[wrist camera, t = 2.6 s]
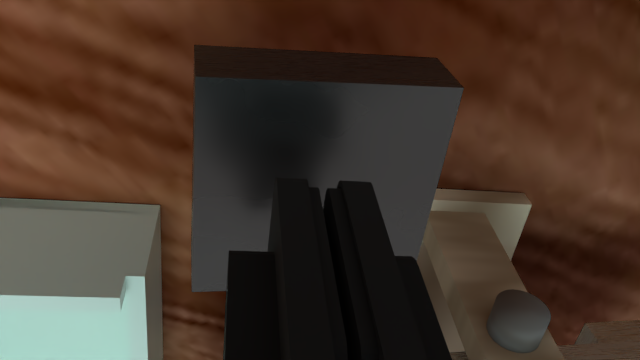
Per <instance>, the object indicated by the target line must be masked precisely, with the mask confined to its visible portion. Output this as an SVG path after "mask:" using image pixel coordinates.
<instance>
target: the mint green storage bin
mask: <svg viewBox="0 0 640 360" xmlns="http://www.w3.org/2000/svg"><path fill="white" fill-rule="evenodd" d="M0 360H163V326H162V274H161V222H160V205H147V204H125V203H103V202H81V201H60V200H38V199H16V198H0Z"/></svg>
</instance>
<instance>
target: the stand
mask: <svg viewBox="0 0 640 360" xmlns="http://www.w3.org/2000/svg"><path fill="white" fill-rule="evenodd" d="M531 206H532V204H531V203H530V201H529V200H528V198H527V197H526V195H525V194H524V193H510V192H491V191H472V190H454V189H436V192H435V196H434V200H433V203H432V207H431V211H430V214H429V218H428V222H427V225H426V229H425V233H424V237H423V240H422V244H421V248H420V251H419V255H418V259H417V264H418V266H419V268H420V271H421V274H422V277H423V280H424V282H425V285H426V288H427V291H428V294H429V296H430V299H431V302H432V305H433V308H434V310H435V313H436V316H437V319H438V322H439V324H440V327H441V330H442V333H443V336H444V338H445V341H446V344H447V347H448V350H449V352H462V351H465V352H466V355H467V357H468V360H565V359H564V358H563V356H562V354H561V352H560V350H559V348H558V347H557V345H556V343H555V341H554V339H553V337H552V336H551V334H550V332H549V330H548V328H547V327H548V325H549V322H550V320H551V314H550V311H549V309H548V307H547V306H546V305H545V304H544V303H543V302H542V301H541V300H540V299H539V298H537V297H536V296H534V295H532V294H530V293H528V292H527V290H526V288H525V286H524V284H523V282H522V281H521V279H520V277H519V275H518V273H517V272H516V270H515V268H514V266H513V264H512V262H511V259H512V256H513V254H514V251H515V248H516V246H517V243H518V240H519V238H520V235H521V233H522V230H523V227H524V225H525V222H526V219H527V217H528V214H529V211H530V209H531Z"/></svg>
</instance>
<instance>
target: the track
mask: <svg viewBox="0 0 640 360" xmlns="http://www.w3.org/2000/svg"><path fill="white" fill-rule="evenodd" d="M463 89H464V87H463V86H462V85H461V84H460V83H459V82H458V81H457V80H456V79H455V77H454V76H453V75H452V74H451V73H450V72H449V71H448V70H447V68H446V67H445V66H444V65H443V64H442V63H441V62H440V61H439V59H438V58H430V57H411V56H393V55H374V54H355V53H336V52H317V51H299V50H280V49H261V48H242V47H223V46H205V45H194V96H193V164H192V232H191V268H192V292H206V291H226V288H227V270H228V253H229V250H231V251H262V252H267V251H268V241H269V231H270V221H271V211H272V201H273V191H274V182H275V178H276V177H283V178H303V179H307V181H308V186H309V187H318V188H319V190H320V196H321V202H322V207H323V206H324V200H325V194H326V190H327V188H337V185H338V182H339V181H340V180H342V181H362V182H371V183H372V185H373V188H374V191H375V195H376V198H377V201H378V204H379V207H380V211H381V214H382V217H383V220H384V223H385V226H386V230H387V233H388V236H389V239H390V242H391V246H392V249H393V252H394V255H395V256H412V257H413V258H415V260H416V262H417V259H418V255H419V251H420V248H421V244H422V240H423V237H424V233H425V229H426V225H427V222H428V218H429V214H430V211H431V207H432V203H433V200H434V196H435V192H436V189H437V185H438V181H439V178H440V174H441V170H442V167H443V163H444V159H445V155H446V152H447V148H448V144H449V141H450V137H451V133H452V130H453V126H454V122H455V119H456V115H457V111H458V108H459V104H460V100H461V97H462V93H463ZM557 347H558V348H559V350H560V352H561V354H562V356H563V358H564V359H565V360H640V320H632V321H613V322H594V323H585V324H584V326H583V328H582V330H581V332H580V334H579V336H578V338H577V340H576V342H575V344H574V345H561V346H557ZM450 355H451V358H452V360H468V357H467V355H466V352H465V351H462V352H450Z"/></svg>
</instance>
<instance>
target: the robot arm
mask: <svg viewBox="0 0 640 360" xmlns="http://www.w3.org/2000/svg"><path fill="white" fill-rule="evenodd" d="M223 360H452V358H451V355H450V352H449V350H448V347H447V344H446V341H445V338H444V336H443V333H442V330H441V327H440V324H439V322H438V319H437V316H436V313H435V310H434V308H433V305H432V302H431V299H430V296H429V294H428V291H427V288H426V285H425V282H424V280H423V277H422V274H421V271H420V268H419V266H418V264H417V262H416V260H415V258H413V257H412V256H395V255H394V252H393V249H392V246H391V242H390V239H389V236H388V233H387V230H386V226H385V223H384V220H383V217H382V214H381V211H380V207H379V204H378V201H377V198H376V195H375V191H374V188H373V185H372V183H371V182H362V181H342V180H340V181H339V182H338V185H337V188H327V190H326V194H325V200H324V206H323V207H322V202H321V196H320V190H319V188H318V187H309V186H308V181H307V179H303V178H283V177H276V178H275V182H274V191H273V201H272V211H271V221H270V231H269V241H268V251H267V252H262V251H231V250H229V253H228V270H227V288H226V307H225V329H224V353H223Z"/></svg>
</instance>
